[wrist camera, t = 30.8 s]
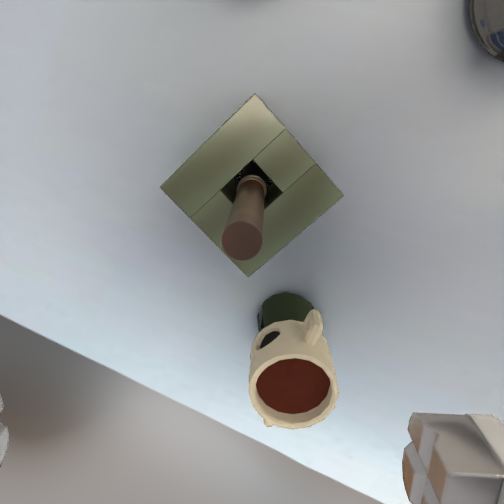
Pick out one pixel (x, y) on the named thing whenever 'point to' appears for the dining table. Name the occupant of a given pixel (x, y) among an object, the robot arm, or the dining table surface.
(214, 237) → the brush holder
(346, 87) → the dining table surface
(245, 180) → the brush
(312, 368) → the character mug
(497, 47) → the beverage bottle
